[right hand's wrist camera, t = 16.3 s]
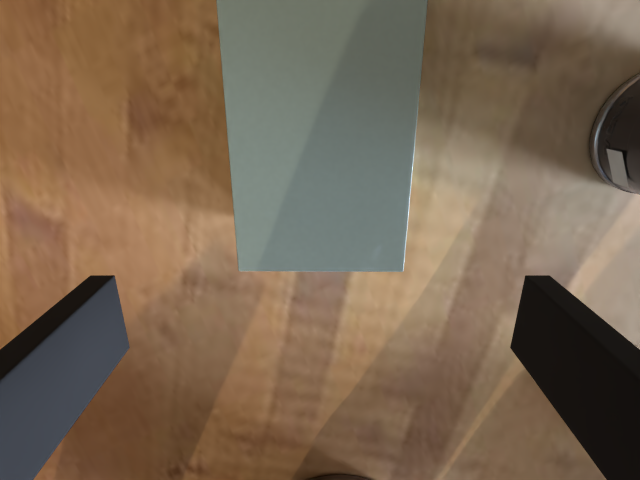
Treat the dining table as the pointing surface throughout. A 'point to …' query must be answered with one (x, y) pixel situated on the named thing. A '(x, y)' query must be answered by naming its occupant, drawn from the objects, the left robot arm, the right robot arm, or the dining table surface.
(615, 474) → the right robot arm
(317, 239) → the cabinet
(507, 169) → the dining table surface
